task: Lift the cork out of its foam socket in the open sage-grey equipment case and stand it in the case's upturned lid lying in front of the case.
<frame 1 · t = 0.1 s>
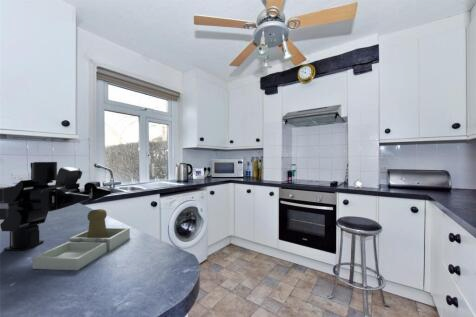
hand: (100, 194, 63), 17 cm above the counter, tool horizontal, fingers open, 9 cm apart
cork: (97, 244, 67), resting in case
case: (101, 243, 66), on the counter
lid: (72, 259, 56), on the counter
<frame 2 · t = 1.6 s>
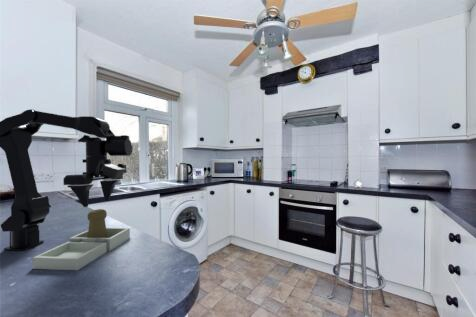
hand: (97, 203, 67), 13 cm above the counter, tool pointing down, fingers open, 9 cm apart
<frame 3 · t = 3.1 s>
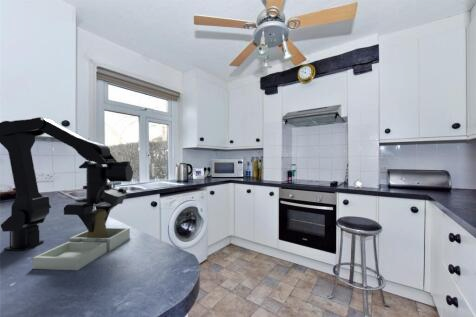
hand: (97, 229, 67), 5 cm above the counter, tool pointing down, fingers closed on cork, 4 cm apart
cork: (97, 244, 67), resting in case, touching gripper
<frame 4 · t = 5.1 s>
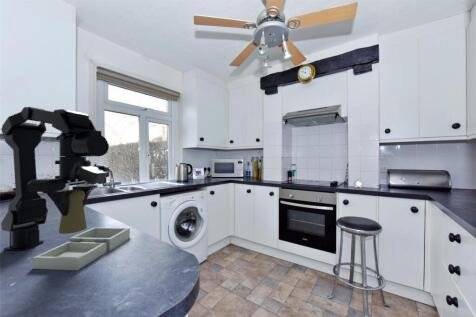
hand: (72, 213, 56), 13 cm above the counter, tool pointing down, fingers closed on cork, 4 cm apart
cork: (73, 230, 56), point 8 cm above the counter, touching gripper
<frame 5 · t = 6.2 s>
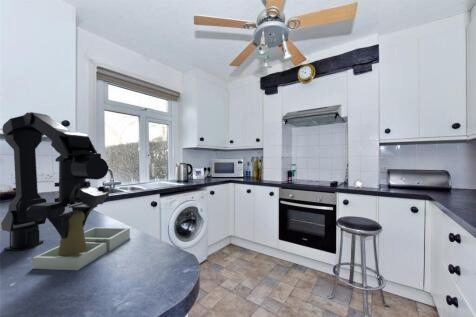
hand: (72, 235, 56), 7 cm above the counter, tool pointing down, fingers closed on cork, 4 cm apart
cork: (72, 252, 56), point 2 cm above the counter, touching gripper
when the fingers open (7 cm above the counter, at t = 6.4 s): cork drops 1 cm, resting on lid.
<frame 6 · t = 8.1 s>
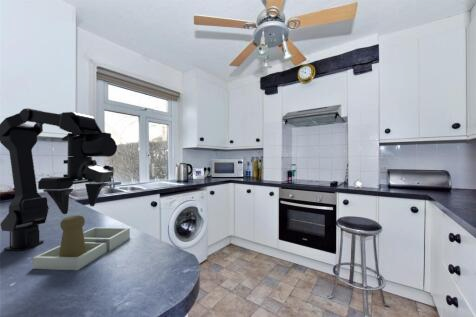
hand: (79, 209, 59), 13 cm above the counter, tool pointing down, fingers open, 9 cm apart
cork: (72, 257, 56), point 1 cm above the counter, touching lid
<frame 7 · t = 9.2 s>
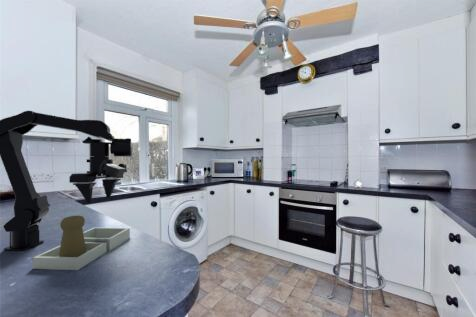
hand: (99, 200, 72), 13 cm above the counter, tool pointing down, fingers open, 9 cm apart
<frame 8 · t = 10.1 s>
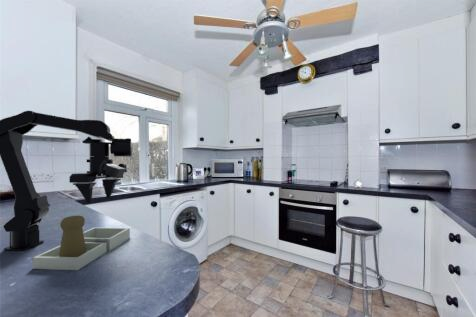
hand: (99, 200, 72), 13 cm above the counter, tool pointing down, fingers open, 9 cm apart
at the end: cork inside the target area on the lid (0.1 cm from its centre), point 0.6 cm above the lid's base; cork tilted 0°; the gripper is holding nothing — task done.
